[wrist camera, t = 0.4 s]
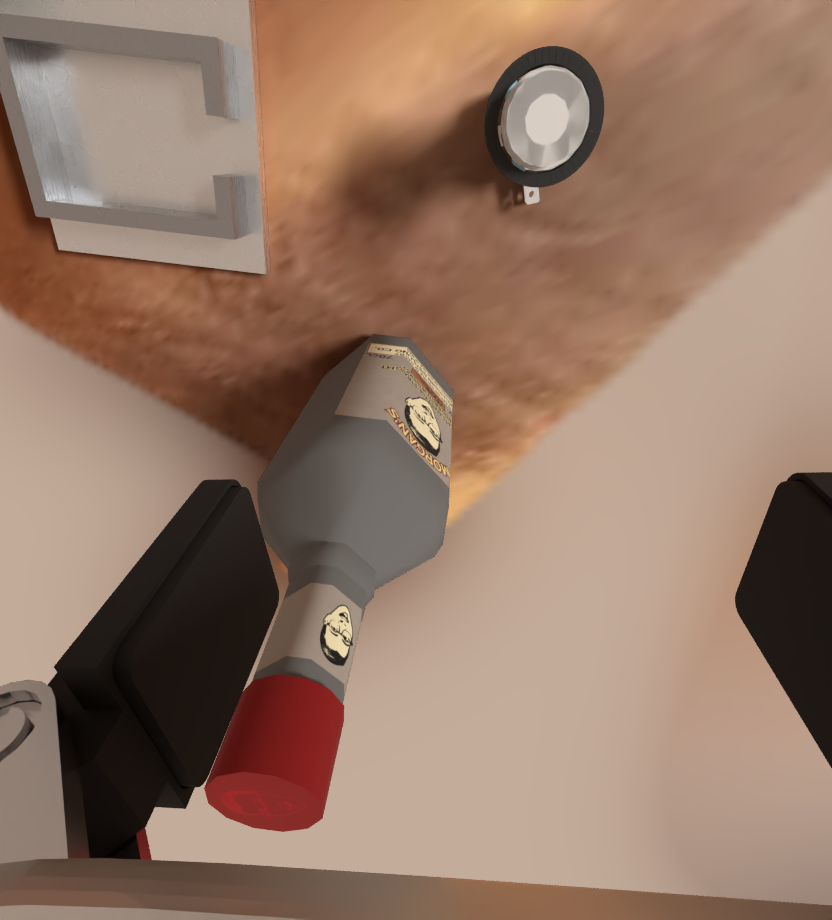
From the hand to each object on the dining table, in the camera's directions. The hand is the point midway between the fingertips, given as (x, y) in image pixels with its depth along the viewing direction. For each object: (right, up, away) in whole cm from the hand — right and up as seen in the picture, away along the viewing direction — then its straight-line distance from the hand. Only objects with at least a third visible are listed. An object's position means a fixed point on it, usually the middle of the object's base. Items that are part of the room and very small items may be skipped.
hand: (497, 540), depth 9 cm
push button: (+5, +21, +22) cm, 31 cm away
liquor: (-4, +7, +31) cm, 32 cm away
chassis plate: (-19, +22, +23) cm, 37 cm away
